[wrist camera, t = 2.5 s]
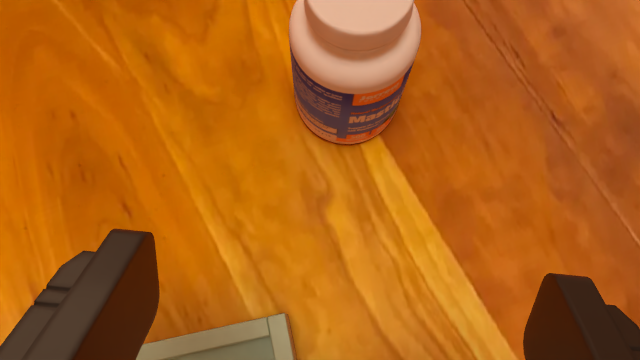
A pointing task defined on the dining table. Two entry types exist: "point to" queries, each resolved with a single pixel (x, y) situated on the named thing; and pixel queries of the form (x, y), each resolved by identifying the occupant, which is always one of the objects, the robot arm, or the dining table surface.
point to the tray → (229, 343)
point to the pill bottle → (351, 63)
